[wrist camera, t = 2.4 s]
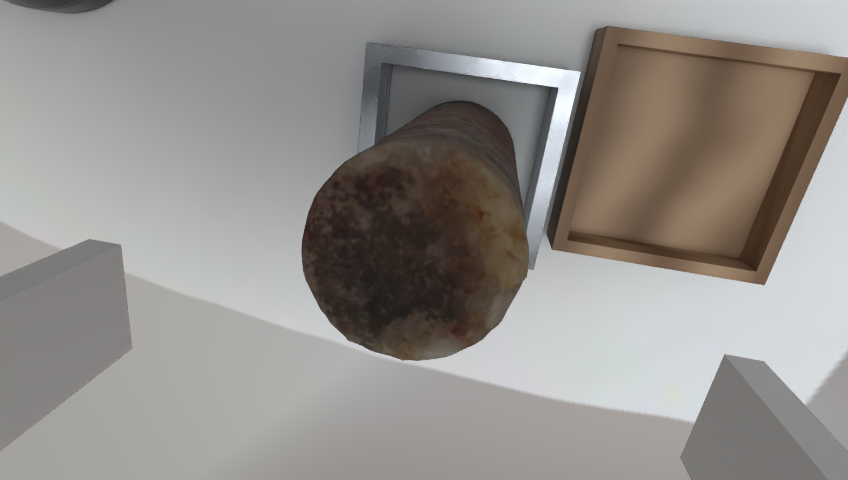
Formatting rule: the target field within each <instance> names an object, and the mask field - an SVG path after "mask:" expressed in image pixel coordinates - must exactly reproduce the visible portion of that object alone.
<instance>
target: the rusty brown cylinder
mask: <svg viewBox="0 0 848 480" xmlns="http://www.w3.org/2000/svg"><path fill="white" fill-rule="evenodd" d="M302 263H303V272H304V275H305V279H306V281H307V283H308V285H309V287H310V289H311V291H312V293H313V295H314V297H315V299H316V301H317V303H318V305H319V307H320V309H321V311H322V312H323V313H324V314H325V315H326V316H327V318H328V320H329V322H330V323H331V324H332V325H333V326H334V327H335V328H336V329H338V330H339V331H340V332H341V333H342V334H343V335H344V336H345V337H346V338H347V340H348V341H351V342H354V343H357V344H359V345H362V346H364V347H365V348H367V349H369V350H371V351H374V352H377V353H381V354H385V355H389V356H392V357H395V358H398V359H401V360H414V361H419V360H429V359H437V358H443V357H447V356H450V355H453V354H455V353H457V352H459V351H461V350H463V349H465V348H467V347H470V346H472V345H474V344H476V343H478V342H479V341H481V340H482V339H483V338H484V337H485V336H486V335H487V334H488V333H489V332H490V331H491V330H492V329H494V328H495V327H496V326H498V325H499V323H500V322H501V321H502V319H503V317H504V315H505V313H506V311H507V309H508V308H509V306H510V304H511V302H512V301H513V299H514V297H515V296H516V294H517V292H518V290H519V288H520V287H521V284H522V282H523V280H525V278H526V277H527V272H528V265H529V244H528V239H527V233H526V227H525V217H524V210H523V204H522V199H521V193H520V187H519V181H518V175H517V168H516V160H515V151H514V146H513V141H512V138H511V136H510V133H509V131H508V129H507V127H506V126H505V125H504V123H503V122H502V121H501V120H500V119H499V117H498V116H496V115H495V114H494V113H493V112H491V111H490V110H488V109H487V108H485V107H483V106H481V105H479V104H476V103H473V102H467V101H453V102H447V103H443V104H440V105H438V106H435V107H434V108H432V109H430V110H428V111H426V112H425V113H423V114H421V115H420V116H418V117H417V118H415V119H414V120H412V121H411V122H409V123H408V124H406V125H404V126H403V127H401V128H399V129H398V130H396V131H395V132H394V133H392V134H391V135H389V136H387V137H385V138H384V139H382V140H380V141H379V142H377V143H376V144H374V145H373V146H371V147H369V148H367V149H365V150H363V151H362V152H360V153H359V154H357V155H355V156H354V157H352V158H350V159H349V160H347V161H346V162H344V163H343V164H342V165H341V166H340V167H339V168H338V169H337V170H336V171H335V172H334V173H333V175H332V176H331V177H330V178H329V179H328V180H327V181H326V182H325V183H324V185H323V186H322V187H321V189H320V190H319V191H318V192H317V194H316V196H315V198H314V200H313V203H312V205H311V208H310V210H309V213H308V217H307V221H306V225H305V229H304V234H303V239H302Z"/></svg>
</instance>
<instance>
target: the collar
mask: <svg viewBox="0 0 848 480" xmlns="http://www.w3.org/2000/svg"><path fill="white" fill-rule="evenodd" d="M393 64H396V65H403V66H410V67H417V68H424V69H431V70H438V71H445V72H452V73H459V74H466V75H473V76H481V77H488V78H495V79H502V80H509V81H516V82H523V83H530V84H537V85H544V86H551V89H550V94H549V98H548V103H547V107H546V112H545V116H544V121H543V126H542V130H541V135H540V139H539V144H538V148H537V153H536V158H535V162H534V167H533V171H532V176H531V180H530V185H529V189H528V194H527V199H526V203H525V208H524V217H525V227H526V233H527V239H528V244H529V265H528V269H532V270H534V266H535V262H536V257H537V253H538V249H539V245H540V241H541V236H542V232H543V228H544V224H545V220H546V215H547V211H548V207H549V203H550V199H551V194H552V190H553V186H554V182H555V178H556V173H557V169H558V165H559V161H560V157H561V152H562V148H563V144H564V140H565V136H566V131H567V127H568V123H569V119H570V115H571V110H572V106H573V102H574V98H575V94H576V89H577V85H578V81H579V77H580V73H581V72H578V71H571V70H564V69H556V68H549V67H542V66H535V65H528V64H521V63H513V62H506V61H499V60H492V59H485V58H478V57H470V56H463V55H456V54H449V53H442V52H435V51H427V50H420V49H413V48H406V47H399V46H392V45H384V44H377V43H370V42H367V44H366V56H365V69H364V81H363V94H362V106H361V119H360V132H359V144H358V154H359V153H360V152H362V151H363V150H365V149H367V148H369V147H371V146H373V145H374V144H376V143H377V142H379V141H380V140H382V139H384V138H385V135H386V125H387V115H388V105H389V95H390V85H391V75H392V65H393Z"/></svg>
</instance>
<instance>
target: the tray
mask: <svg viewBox="0 0 848 480" xmlns="http://www.w3.org/2000/svg"><path fill="white" fill-rule="evenodd" d="M847 97H848V58H846V57H838V56H831V55H823V54H816V53H808V52H801V51H793V50H785V49H778V48H770V47H763V46H755V45H748V44H740V43H732V42H725V41H717V40H710V39H702V38H694V37H687V36H679V35H672V34H664V33H657V32H649V31H641V30H634V29H626V28H619V27H611V26H606V27H603V28H600V29H597V30H596V32H595V36H594V41H593V45H592V49H591V53H590V57H589V61H588V65H587V70H586V74H585V78H584V82H583V86H582V90H581V94H580V98H579V103H578V107H577V111H576V115H575V119H574V123H573V127H572V131H571V136H570V140H569V144H568V148H567V152H566V156H565V160H564V165H563V169H562V173H561V177H560V181H559V185H558V189H557V193H556V198H555V202H554V206H553V210H552V214H551V218H550V222H549V226H548V231H547V237H548V240H549V243H550V245H551V248H552V250H558V251H564V252H570V253H576V254H582V255H588V256H594V257H600V258H606V259H612V260H618V261H624V262H630V263H636V264H642V265H648V266H654V267H659V268H665V269H671V270H677V271H683V272H689V273H695V274H701V275H707V276H713V277H719V278H725V279H731V280H737V281H743V282H749V283H755V284H761V285H765V283H766V281H767V278H768V276H769V274H770V272H771V269H772V267H773V265H774V263H775V260H776V258H777V256H778V254H779V251H780V249H781V247H782V244H783V242H784V240H785V238H786V235H787V233H788V231H789V229H790V226H791V224H792V222H793V220H794V217H795V215H796V213H797V211H798V208H799V206H800V204H801V201H802V199H803V197H804V195H805V192H806V190H807V188H808V186H809V183H810V181H811V179H812V177H813V174H814V172H815V170H816V168H817V165H818V163H819V161H820V158H821V156H822V154H823V152H824V149H825V147H826V145H827V143H828V140H829V138H830V136H831V134H832V131H833V129H834V127H835V125H836V122H837V120H838V118H839V115H840V113H841V111H842V109H843V106H844V104H845V102H846V100H847Z"/></svg>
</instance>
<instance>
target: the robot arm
mask: <svg viewBox="0 0 848 480" xmlns="http://www.w3.org/2000/svg"><path fill="white" fill-rule="evenodd" d="M4 1H7V2H10V3H13V4H16V5H19V6H23V7H27V8H31V9H37V10H44V11H52V12H61V13H80V12H86V11H90V10H93V9H96V8H99V7H101V6H103V5H105V4H107V3H109V2H110V1H112V0H4ZM131 349H132V342H131V333H130V323H129V315H128V305H127V296H126V287H125V278H124V268H123V259H122V250H121V245H119V244H114V243H108V242H103V241H97V240H92V239H88V240H86V241H84V242H81V243H79V244H77V245H74V246H72V247H69V248H67V249H65V250H62V251H60V252H58V253H56V254H53V255H51V256H48V257H46V258H43V259H41V260H39V261H36V262H34V263H32V264H30V265H27V266H25V267H22V268H20V269H17V270H15V271H13V272H10V273H8V274H6V275H3V276H1V277H0V451H1V450H2V449H4V448H5V447H6V446H8V445H9V444H10V443H11V442H13V441H14V440H15V439H17V438H18V437H19V436H20V435H21V434H23V433H24V432H26V431H27V430H28V429H29V428H31V427H32V426H33V425H35V424H36V423H37V422H38V421H40V420H41V419H42V418H43V417H45V416H46V415H47V414H49V413H50V412H51V411H52V410H54V409H55V408H56V407H58V406H59V405H60V404H61V403H63V402H64V401H65V400H67V399H68V398H69V397H70V396H72V395H73V394H74V393H75V392H77V391H78V390H79V389H81V388H82V387H83V386H84V385H86V384H87V383H88V382H90V381H91V380H92V379H94V378H95V377H96V376H97V375H99V374H100V373H101V372H102V371H104V370H105V369H106V368H108V367H109V366H110V365H112V364H113V363H114V362H115V361H117V360H118V359H119V358H121V357H122V356H123V355H124V354H126V353H127V352H128V351H129V350H131ZM680 458H681V460H682V462H683V464H684V466H685V468H686V470H687V472H688V474H689V476H690V478H691V480H848V450H847V449H846V448H845V447H844V446H843V445H842V444H841V443H840V442H839V441H838V440H837V439H836V438H835V437H834V436H833V435H832V433H831V432H830V431H829V430H828V429H827V428H826V427H825V426H824V425H823V424H822V423H821V422H820V421H819V420H818V419H817V417H816V416H815V415H814V414H813V413H812V412H811V411H810V410H809V409H808V408H807V407H806V406H805V405H804V404H803V403H802V402H801V400H800V399H799V398H798V397H797V396H796V395H795V394H794V393H793V392H792V391H791V390H790V389H789V388H788V387H787V386H786V385H785V383H784V382H783V381H782V380H781V379H780V378H779V377H778V376H777V375H776V374H775V373H774V372H773V371H772V370H771V369H770V367H769V366H768V365H767V364H766V363H765V362H764V361H759V360H753V359H748V358H742V357H737V356H731V355H726V354H724V357H723V359H722V361H721V364H720V366H719V368H718V371H717V373H716V375H715V378H714V380H713V382H712V385H711V387H710V389H709V392H708V394H707V396H706V399H705V401H704V403H703V406H702V408H701V410H700V413H699V415H698V417H697V420H696V422H695V424H694V427H693V429H692V431H691V434H690V436H689V438H688V441H687V443H686V445H685V448H684V450H683V452H682V455H681V457H680Z"/></svg>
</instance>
